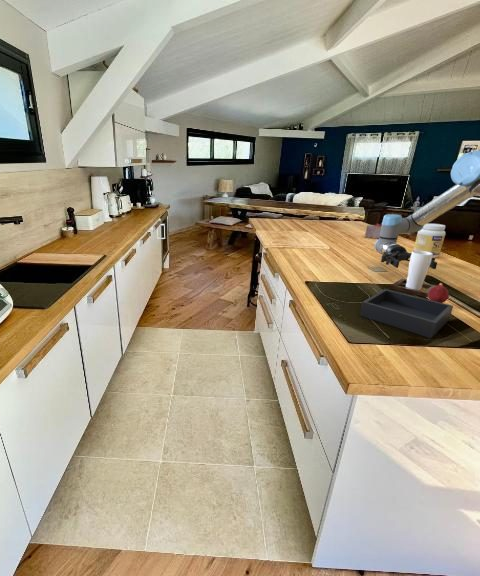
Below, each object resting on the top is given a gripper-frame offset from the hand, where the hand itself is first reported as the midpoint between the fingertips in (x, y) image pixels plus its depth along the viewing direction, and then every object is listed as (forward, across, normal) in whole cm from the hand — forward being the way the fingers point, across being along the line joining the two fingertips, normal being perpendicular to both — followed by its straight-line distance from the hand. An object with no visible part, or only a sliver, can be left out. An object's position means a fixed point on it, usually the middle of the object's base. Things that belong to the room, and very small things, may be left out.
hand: (416, 265), depth 124 cm
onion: (+18, -1, -10) cm, 20 cm away
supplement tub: (-55, -30, -10) cm, 64 cm away
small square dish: (+2, 0, -9) cm, 10 cm away
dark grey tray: (+31, +15, -9) cm, 36 cm away
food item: (-102, -20, -10) cm, 105 cm away
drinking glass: (+2, 0, -10) cm, 10 cm away
